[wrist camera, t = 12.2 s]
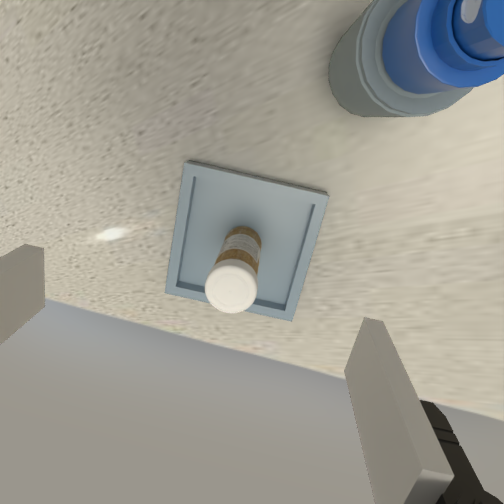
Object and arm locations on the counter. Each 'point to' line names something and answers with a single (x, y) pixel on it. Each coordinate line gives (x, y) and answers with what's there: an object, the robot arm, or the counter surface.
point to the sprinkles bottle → (235, 272)
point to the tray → (250, 215)
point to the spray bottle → (417, 56)
